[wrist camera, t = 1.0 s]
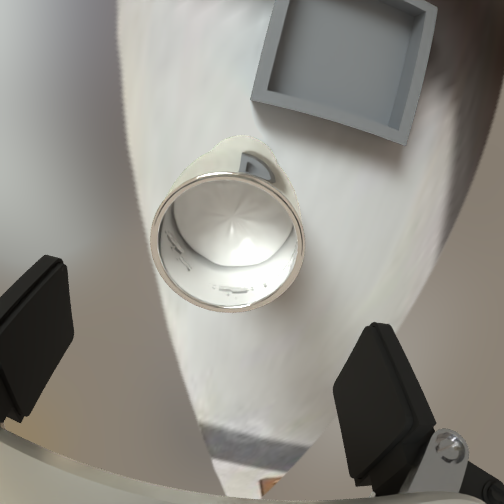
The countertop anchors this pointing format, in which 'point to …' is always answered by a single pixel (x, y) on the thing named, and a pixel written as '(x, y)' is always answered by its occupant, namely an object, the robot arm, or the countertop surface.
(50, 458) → the robot arm
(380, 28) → the tray
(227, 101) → the countertop surface
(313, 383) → the countertop surface
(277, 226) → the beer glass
